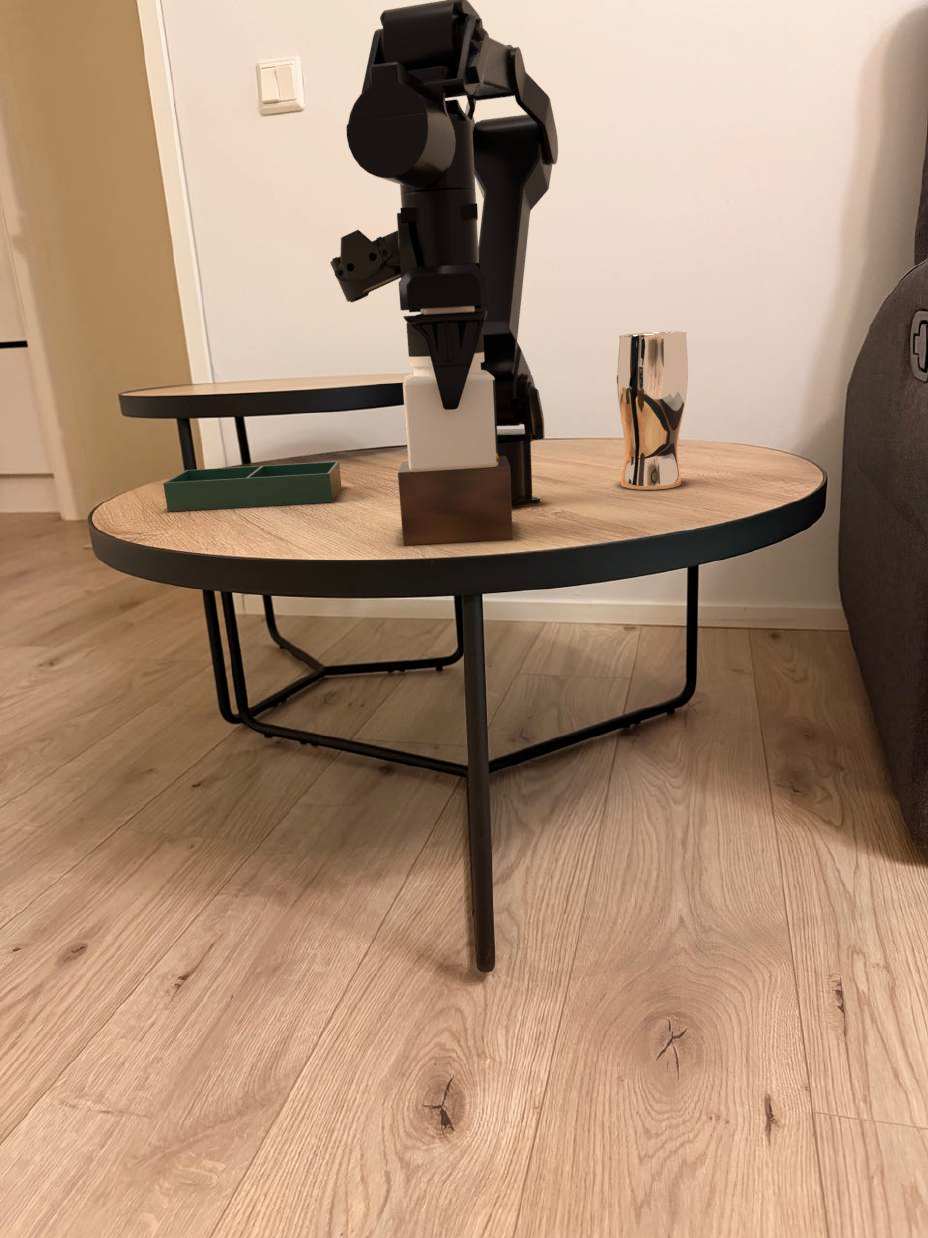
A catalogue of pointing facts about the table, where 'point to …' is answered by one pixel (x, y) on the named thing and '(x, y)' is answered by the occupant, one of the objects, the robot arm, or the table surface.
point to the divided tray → (253, 486)
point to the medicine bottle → (448, 415)
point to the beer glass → (652, 406)
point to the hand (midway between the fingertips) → (450, 404)
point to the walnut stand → (456, 504)
